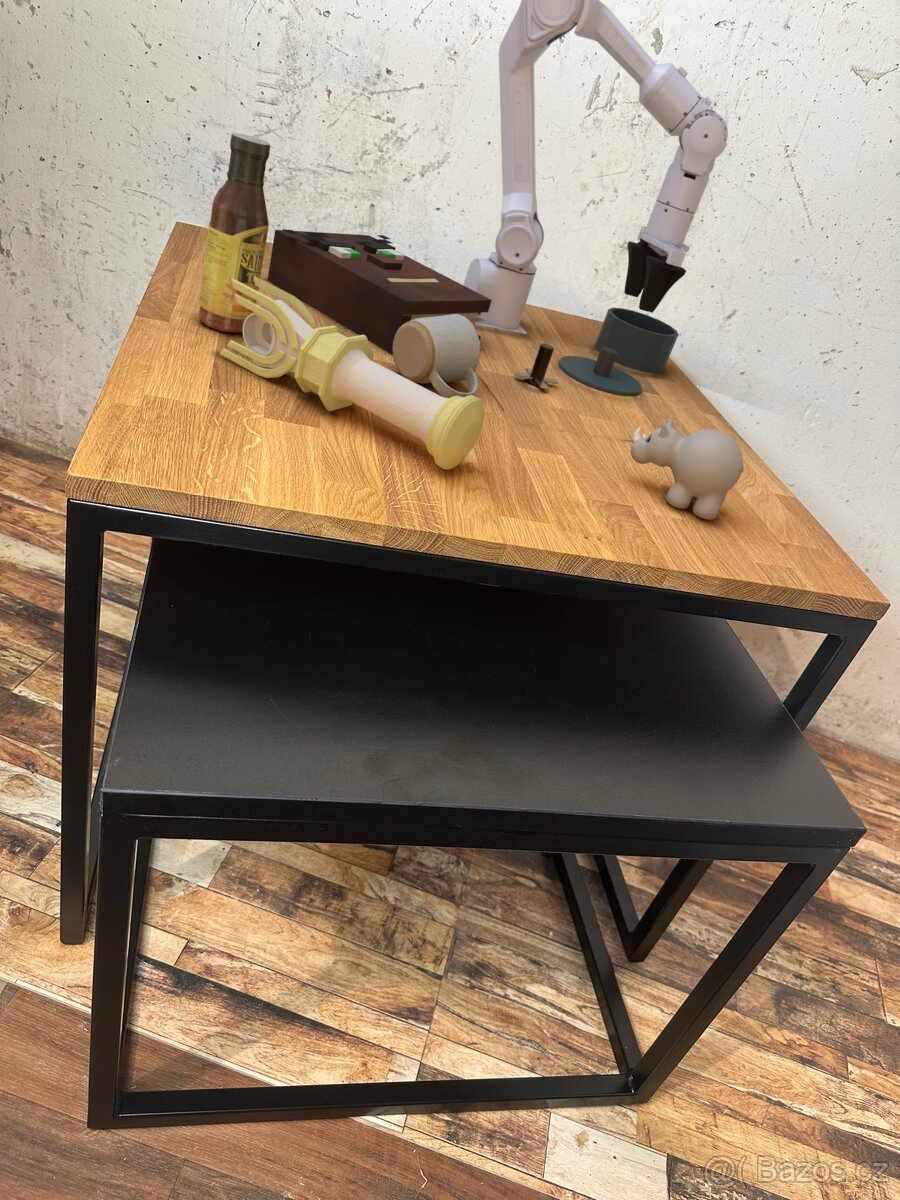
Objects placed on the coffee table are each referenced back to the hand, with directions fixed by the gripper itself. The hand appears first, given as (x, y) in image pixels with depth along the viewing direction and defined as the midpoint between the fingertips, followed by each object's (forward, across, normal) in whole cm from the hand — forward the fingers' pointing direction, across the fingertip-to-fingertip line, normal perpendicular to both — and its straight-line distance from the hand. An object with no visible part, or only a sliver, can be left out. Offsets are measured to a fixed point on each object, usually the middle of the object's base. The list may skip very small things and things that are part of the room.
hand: (638, 302), depth 128 cm
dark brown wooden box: (+10, -5, +38) cm, 40 cm away
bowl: (+9, +3, -3) cm, 10 cm away
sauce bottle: (+10, -23, +56) cm, 62 cm away
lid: (+9, -11, +6) cm, 15 cm away
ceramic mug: (+10, -27, +31) cm, 43 cm away
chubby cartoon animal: (+10, -45, +7) cm, 47 cm away
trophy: (+10, -41, +43) cm, 60 cm away
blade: (+10, -20, +17) cm, 28 cm away
